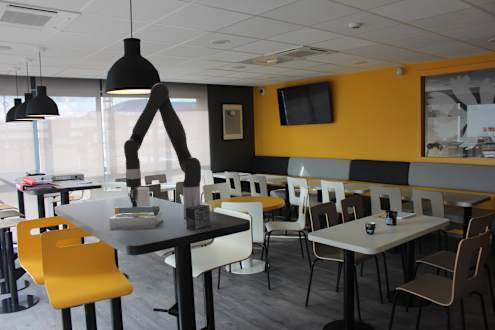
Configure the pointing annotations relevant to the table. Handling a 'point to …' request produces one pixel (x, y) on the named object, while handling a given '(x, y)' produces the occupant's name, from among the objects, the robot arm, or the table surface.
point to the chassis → (135, 220)
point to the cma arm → (137, 209)
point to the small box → (198, 217)
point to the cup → (143, 196)
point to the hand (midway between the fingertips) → (134, 210)
